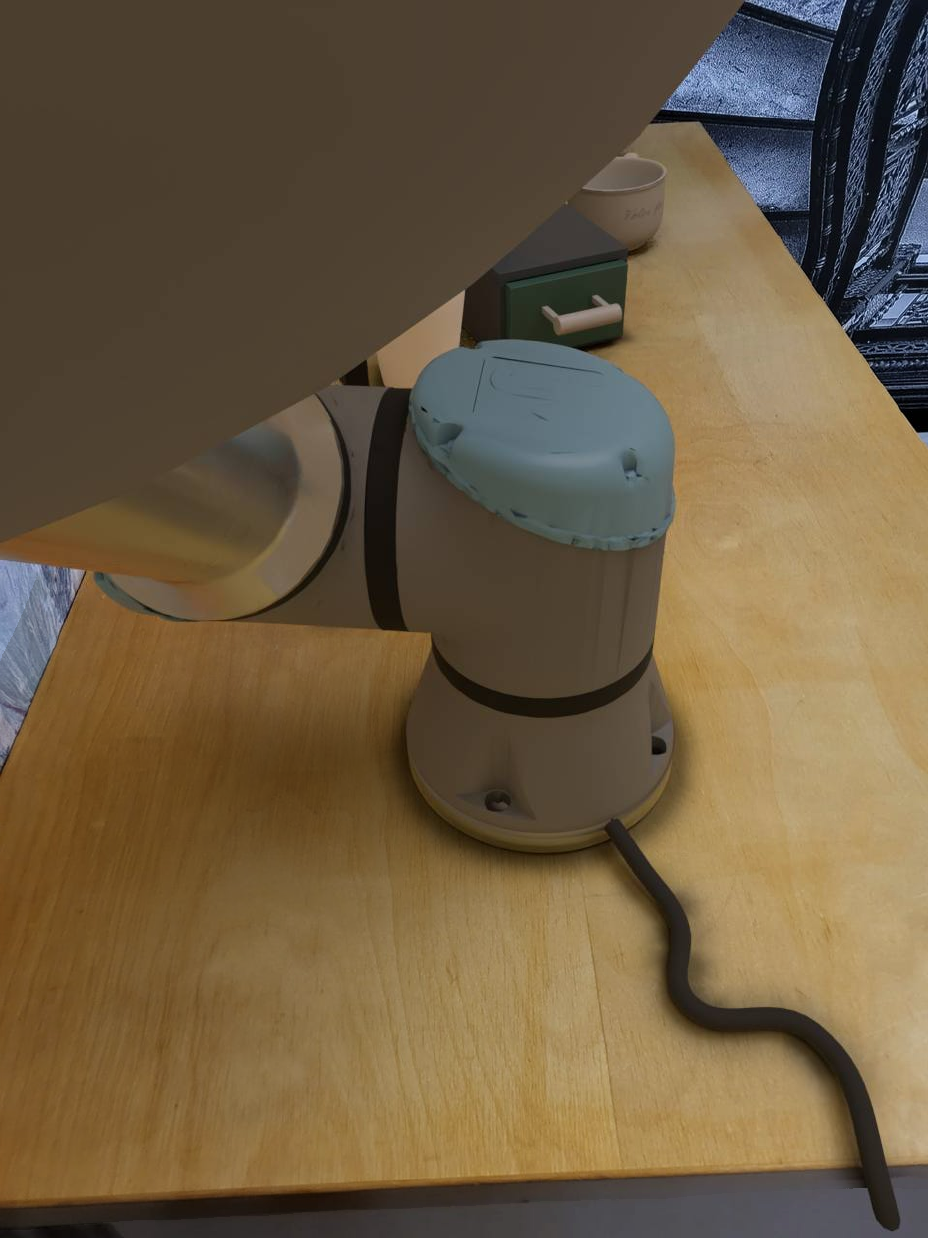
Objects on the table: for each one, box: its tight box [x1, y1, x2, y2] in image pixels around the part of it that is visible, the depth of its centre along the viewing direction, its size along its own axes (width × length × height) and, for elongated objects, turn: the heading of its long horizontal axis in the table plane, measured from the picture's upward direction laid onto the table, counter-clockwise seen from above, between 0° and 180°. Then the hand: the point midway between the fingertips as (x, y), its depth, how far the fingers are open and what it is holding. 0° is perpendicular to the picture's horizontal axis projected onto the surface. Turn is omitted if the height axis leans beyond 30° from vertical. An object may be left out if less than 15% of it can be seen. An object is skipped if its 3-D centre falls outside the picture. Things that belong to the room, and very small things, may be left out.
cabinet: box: [461, 202, 629, 350], centre depth 97 cm, size 14×13×9 cm
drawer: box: [505, 260, 629, 347], centre depth 94 cm, size 17×12×7 cm
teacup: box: [566, 152, 668, 252], centre depth 112 cm, size 14×11×8 cm
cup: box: [375, 290, 465, 388], centre depth 88 cm, size 9×9×12 cm
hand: (352, 379), depth 64 cm, fingers closed
